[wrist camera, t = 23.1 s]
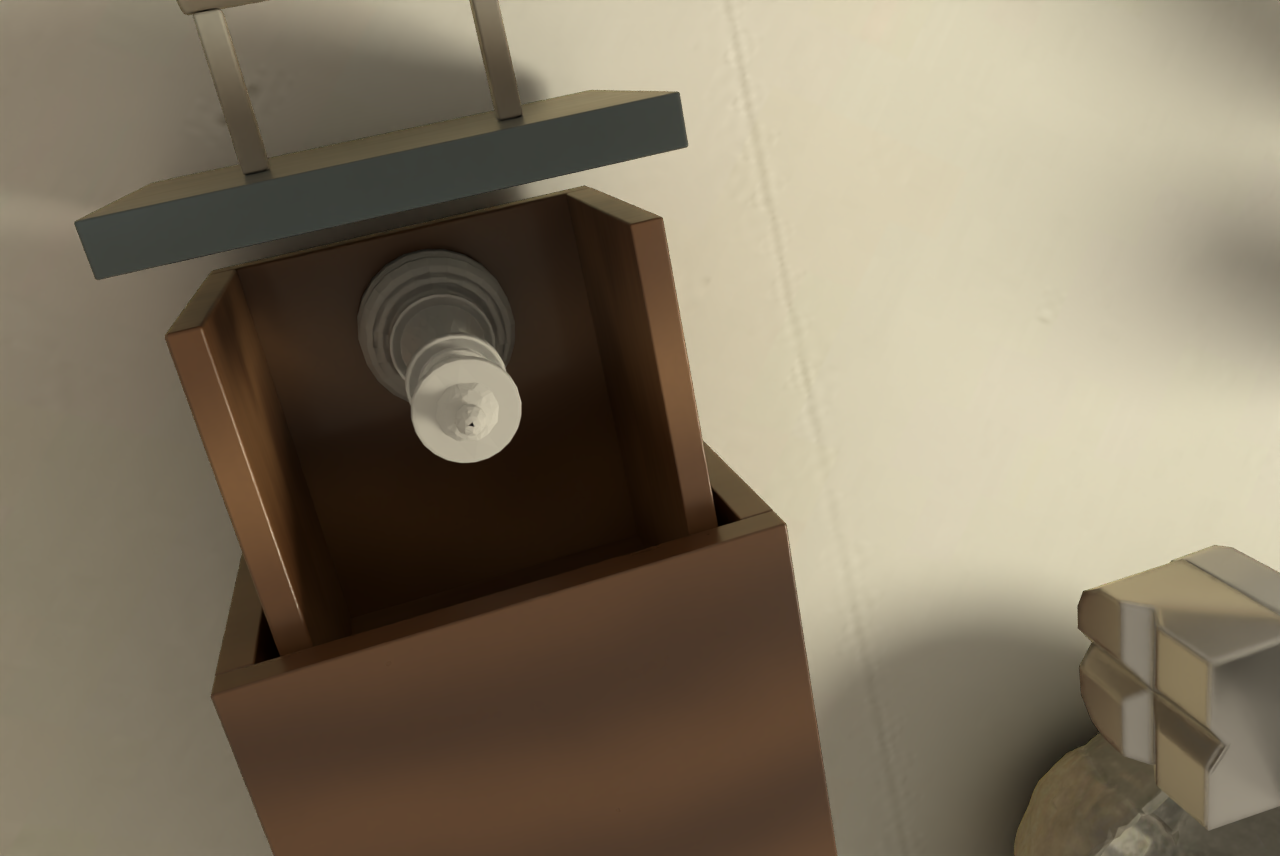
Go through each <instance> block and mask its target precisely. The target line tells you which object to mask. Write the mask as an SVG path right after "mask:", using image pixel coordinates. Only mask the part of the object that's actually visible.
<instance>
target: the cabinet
mask: <svg viewBox="0 0 1280 856" xmlns="http://www.w3.org/2000/svg"><path fill="white" fill-rule="evenodd" d="M703 445H704V450H705V456H706V461H707V467H708V473H709V478H710V484H711V489H712V495H713V500H714V506H715V512H716V517H717V523H718V527H716V528H713V529H710V530H706V531H703V532H700V533H696V534H693V535H689V536H686V537H683V538H679V539H676V540H673V541H669V542H666V543H662V544H659V545H656V546H652V547H649V548H646V549H642V550H639V551H635V552H632V553H629V554H625V555H622V556H619V557H615V558H612V559H608V560H605V561H602V562H598V563H595V564H591V565H588V566H585V567H581V568H578V569H575V570H571V571H568V572H564V573H561V574H558V575H554V576H551V577H548V578H544V579H541V580H537V581H534V582H531V583H527V584H524V585H521V586H517V587H514V588H510V589H507V590H504V591H500V592H497V593H494V594H490V595H487V596H483V597H480V598H477V599H473V600H470V601H467V602H463V603H460V604H456V605H453V606H450V607H446V608H443V609H439V610H436V611H433V612H429V613H426V614H423V615H419V616H416V617H412V618H409V619H406V620H402V621H399V622H396V623H392V624H389V625H385V626H382V627H379V628H375V629H372V630H369V631H365V632H362V633H358V634H355V635H352V636H348V637H345V638H342V639H338V640H335V641H331V642H328V643H325V644H321V645H318V646H315V647H311V648H308V649H304V650H301V651H298V652H294V653H291V654H287V655H284V656H281V657H280V655H279V652H278V649H277V647H276V644H275V641H274V638H273V636H272V633H271V630H270V627H269V625H268V622H267V619H266V616H265V614H264V611H263V608H262V605H261V602H260V600H259V597H258V594H257V591H256V589H255V586H254V583H253V580H252V578H251V575H250V572H249V569H248V567H247V564H246V561H245V558H244V556H243V553H242V556H241V560H240V565H239V569H238V574H237V578H236V583H235V587H234V592H233V596H232V601H231V605H230V610H229V614H228V619H227V623H226V628H225V632H224V637H223V641H222V646H221V650H220V655H219V659H218V664H217V668H216V673H215V679H214V684H213V688H212V693H211V699H212V701H213V704H214V706H215V709H216V711H217V714H218V716H219V719H220V721H221V724H222V726H223V729H224V731H225V734H226V736H227V739H228V742H229V744H230V747H231V749H232V752H233V754H234V757H235V759H236V762H237V764H238V767H239V769H240V772H241V774H242V777H243V779H244V782H245V785H246V787H247V790H248V792H249V795H250V797H251V800H252V802H253V805H254V807H255V810H256V812H257V815H258V817H259V820H260V822H261V825H262V828H263V830H264V833H265V835H266V838H267V840H268V843H269V845H270V848H271V850H272V853H273V855H274V856H837V850H836V843H835V837H834V830H833V824H832V817H831V811H830V804H829V798H828V791H827V785H826V778H825V772H824V765H823V759H822V752H821V746H820V739H819V733H818V726H817V720H816V713H815V707H814V700H813V694H812V687H811V681H810V674H809V668H808V661H807V655H806V648H805V642H804V635H803V629H802V622H801V616H800V609H799V603H798V596H797V590H796V583H795V577H794V570H793V564H792V557H791V551H790V544H789V538H788V531H787V525H786V523H785V522H784V521H783V520H782V519H781V518H780V517H779V516H778V515H777V514H776V513H775V512H774V511H773V510H772V509H771V508H770V507H769V506H768V505H767V504H766V503H765V502H764V501H763V500H762V499H761V498H760V497H759V496H758V495H757V494H756V493H755V492H754V491H753V490H752V489H751V488H750V487H749V486H748V485H747V484H746V483H745V482H744V481H743V480H742V479H741V478H740V477H739V476H738V475H737V474H736V473H735V472H734V471H733V470H732V469H731V468H730V467H729V466H728V465H727V464H726V463H725V462H724V461H723V460H722V459H721V458H720V457H719V456H718V455H717V454H716V453H715V452H714V451H713V450H712V449H711V448H710V447H709V446H708V445H707V444H706V443H705V442H704V441H703Z"/></svg>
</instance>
